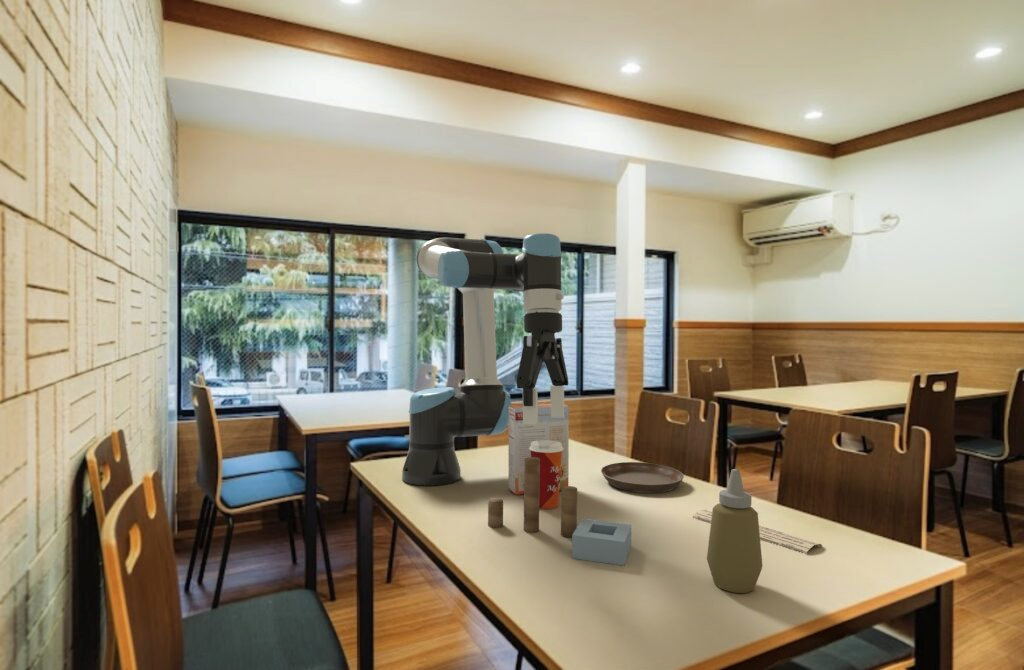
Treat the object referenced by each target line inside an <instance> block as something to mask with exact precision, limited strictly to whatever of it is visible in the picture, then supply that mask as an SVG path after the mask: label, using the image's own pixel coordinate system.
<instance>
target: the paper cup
mask: <svg viewBox="0 0 1024 670" xmlns="http://www.w3.org/2000/svg"><path fill="white" fill-rule="evenodd" d="M529 449H530V450H531V457H536V458H539V459H540V486H539V510H553V509H556V508H558V506H559V500H560V498H559V497H560V491H559V488H560V474H561V459H562V451H563V447H562V444H561V442H558V441H552V440H537V441H533V442H532V443H531V446H530V447H529Z"/></svg>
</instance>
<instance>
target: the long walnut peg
mask: <svg viewBox="0 0 1024 670" xmlns="http://www.w3.org/2000/svg"><path fill="white" fill-rule="evenodd" d="M539 486H540V459H539V458H536V457H527V458H525V459H524V494H523V531H524V532H526V533H529V534H533V533H534V534H535V533H538V532H540V508H539Z"/></svg>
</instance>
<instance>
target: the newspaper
mask: <svg viewBox="0 0 1024 670" xmlns="http://www.w3.org/2000/svg"><path fill="white" fill-rule="evenodd" d="M712 511H713V510H708V509H701V510H699V511H697V512H696V513H694V514H693V515H692V519H694V518H695V520H697V519H698V520H697V521H701V522H704V523H707V524H710V525H711V519H712ZM759 533H760V541H763V542H766V543H769V544H772V543H773V544H772V545H775V544H776V545H775V546H778V545H779V547H781V546H782V548H784V547H785V548H784V549H787V548H788V549H787V550H790V551H791V550H792V551H795V552H797V551H798V552H797V553H800V552H801V554H803V553H804V555H806V554H808V552H809V550H810V549H811V548H813V547H816V546H819V547H818V548H821V547H820V546H822V547H823V545H822V543H818V542H814V541H812V540H809V539H805V538H802V537H798V536H796V535H792V534H789V533H785V532H783V531H779V530H776V529H772V528H769V527H765V526H762V525H759ZM814 545H815V546H814Z"/></svg>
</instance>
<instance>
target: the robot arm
mask: <svg viewBox="0 0 1024 670" xmlns="http://www.w3.org/2000/svg"><path fill="white" fill-rule="evenodd" d="M521 250H522V253H520V254H519V253H518V254H515V253H504V251H503V248H502V246H501V245H500V244H499V243H498V242H497V241H495V240H487V239H484V238H481V239H476V238H459V237H438V238H433V239H431V240H428V241H426V242H424V243H423V244H422V245H421V246H420V247H419V249H418V251H417V253H416V265H417V267H418V269H419V271H421V273H422V274H423V275H425V276H427V277H429V278H431V279H438V281H439V284H440V285H441V286H443V287H447V288H453V289H457V290H458V291H459V292H461V294H462V305H463V306H462V307H463V308H462V309H463V310H462V311H463V335H464V337H463V338H464V339H463V340H464V368H465V369H464V370H465V373H464V375H465V379H464V381H463V382H462V383H461V385H459V387H460V392H456V390H455V388H454V387H451V386H450V387H449V386H445V387H442V386H441V387H433V388H426V389H422V390H418V391H416V392H414V393H413V394H412V395H411V396H410V399H409V407H408V409H409V410H408V414H409V430H408V432H409V435H408V436H409V437H408V438H409V439H408V440H409V443H408V444H409V445H408V447H409V448H408V451H407V455H406V457H405V461H404V464H403V466H402V467H403V468H402V473H401V480H402V481H403V482H405V483H407V484H411V485H415V486H416V485H417V486H442V485H443V486H444V485H448V484H452V483H454V482H457V481H459V480H460V479H461V466H460V464H459V459H458V457H457V453H456V450H455V438H457V437H463V438H464V437H479V436H487V437H488V436H494V435H500V434H503V433H504V432H505V431H506V429H507V428H508V423H509V417H508V412H509V409H508V406H509V405H513V404H512V399H511V394H510V393H509V392H508V391H506V390H504V384H503V382H501V381H500V379H498V370H497V367H498V365H497V364H498V363H497V347H496V346H497V343H496V341H497V340H496V319H495V318H496V317H495V297H494V294H495V292H496V290H509V291H511V292H513V293H520V292H522V293H523V311H524V312H526V313H525V315H523V324H524V325H523V329H524V332H525V333H526V334H531V335H524V336H523V337H522V339H523V340H522V341H523V345H522V351H521V356H520V361H519V367H518V370H517V375H516V388H517V389H522V405H523V424H538V404H539V401H538V400H539V399H538V398H539V397H538V388H536V385H537V382H538V378H539V374H540V373H541V370H542V365H543V363H544V364H545V367H546V370H547V373H548V375H549V378H550V381H551V384H552V385H550V387H549V389H550V404H551V418H564V405H565V386H569V376H568V372H567V365H566V362H565V356H564V352H563V344H562V343H563V342H562V341H563V340H562V338H561V337H556V335H555V333H557V334H558V333H561V332H562V331H563V315H562V313H561V311H562V305H563V304H562V300H563V299H564V295H563V294H562V255H563V254H562V253H563V252H562V251H561V250H562V249H561V240H560V237H559V236H557V235H555V234H553V233H543V232H541V233H538V232H537V233H532V234H529V235H526V236H524V238H523V241H522V247H521Z"/></svg>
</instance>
